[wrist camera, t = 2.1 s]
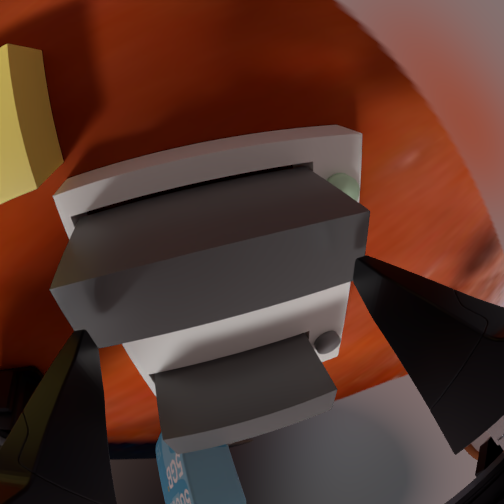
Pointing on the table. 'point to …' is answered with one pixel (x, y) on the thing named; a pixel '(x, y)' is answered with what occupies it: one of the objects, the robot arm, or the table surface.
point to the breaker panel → (212, 167)
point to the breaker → (242, 395)
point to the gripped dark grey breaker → (207, 254)
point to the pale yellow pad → (25, 123)
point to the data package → (198, 476)
